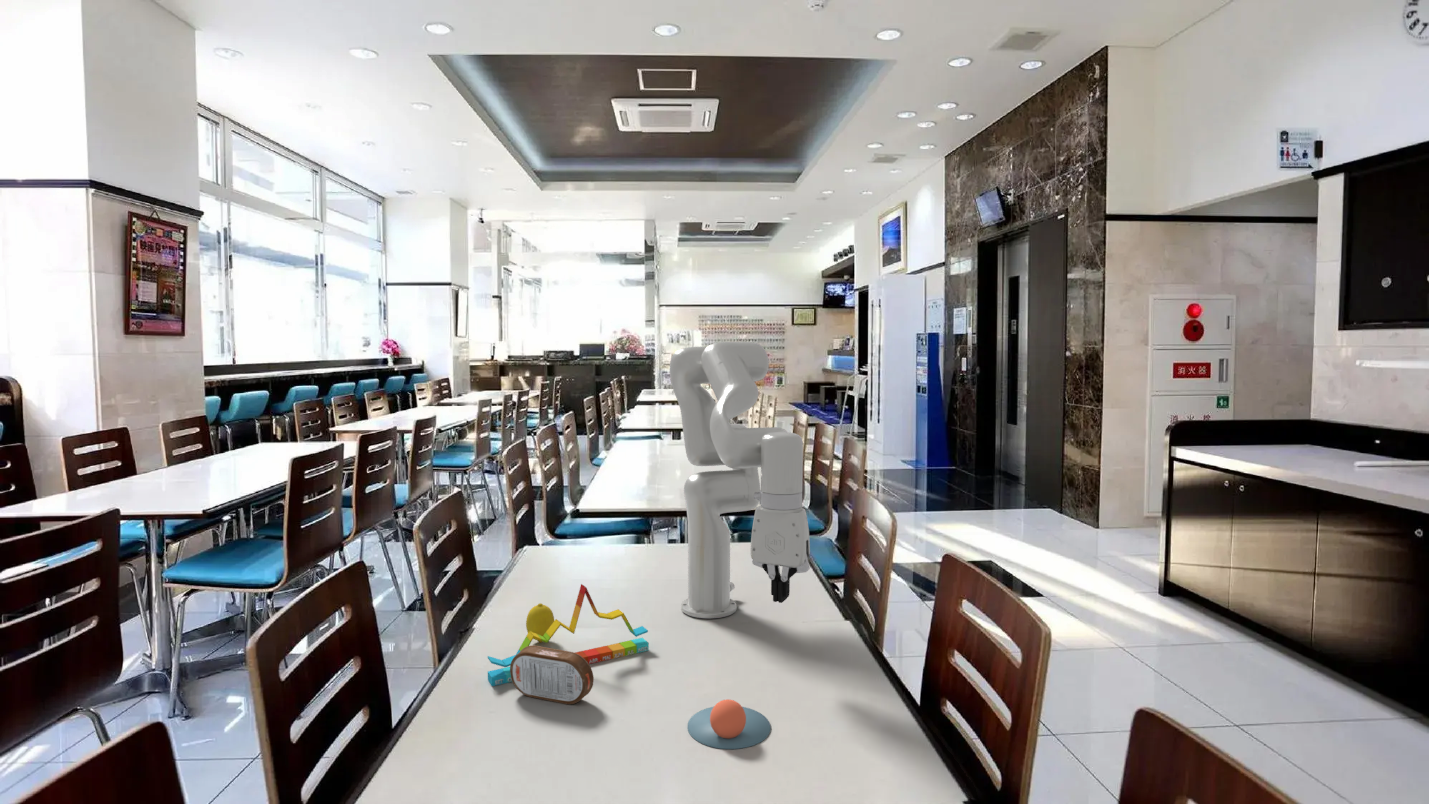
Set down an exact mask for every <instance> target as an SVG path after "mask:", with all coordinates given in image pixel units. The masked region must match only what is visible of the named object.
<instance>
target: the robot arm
mask: <svg viewBox="0 0 1429 804" xmlns="http://www.w3.org/2000/svg"><path fill="white" fill-rule="evenodd" d="M769 366H770V359H769V356H768V354H767V351H766V350H765V348H764V347H763V346H762V345H761V344H760V343H757V342H754V341H753V342H752V341H719V342H714V343H712V344H709V345H708V346H691V347H690V346H688V347H683V348H681V349H677V350H676V351H674V353H673V354H672V355H671V358H670V362H669V378H670V384H671V387H672V391H673V392H674V395H675V397H676V400H677V402H678V406H679V410H680V415H681V423H682V424H681V425H682V431H683V432H682V433H683V434H682V435H683V442H684V448H685V449H684V450H685V453H686V457H687V460H688V462H689V463H690V464H691V465H693V466H697V467H715V466H726V467H728V468H729V469H730V470H727V469H726V470H712V471H711V470H710V471H709V470H707V471H701V472H696V473H694V474H692V475H690V476H689V477H687V479H685V480H686V481H685V482H684V486H683V494H684V495H683V496H684V502H685V508H686V516H687V535H688V536H687V549H688V550H687V556H688V557H687V598H686V599H684V600H683V601H682V602H681V605H680V606H681V607H680V608H681V611H682V613H684V614H686V615H687V616H690V617H693V618H698V619H707V620H708V619H719V618H720V619H721V618H726V617H729V616H731V615H733V614H734V613H736V611H737V602H735V600H733V599H732V598H731V592H732V591H733V590H734V589H735V584H734V583H733V582H731V534H730V530H729V528H728V526H727V524H726V523H725V522H724V520H722V518H721V517H720V515H722V514H727V513H737V512H738V513H739V512H747V511H751V510H754V509H755V511H754V515H753V522H752V529H751V536H750V537H751V538H750V558H751V560H752V565H753V566H756V567H758V568H761V569H763V570H764V571H765V573H766V574H767V575H768V579H769V580H770V581H771V582H770V591H771V592H770V594H771V595H772V601H773V603H777V602H778V603H780V604H781V603H784V602H785V601H786V600H787V598H789V596H790V588H791V587H790V586H791V585H790V583H791V582H790V581H791V580H790V579H791V578H792V577H793V576H794V575H796V574H802V573H803V574H804V573H807V572H808V571H809V570H810V563H809V559H810V553H811V547H810V546H811V543H810V541H811V540H810V529H809V523H808V516H807V512H806V511H807V510H806V509H805V508H803V474H804V473H803V472H804V470H803V469H804V465H803V463H804V462H803V461H804V441H803V438H802V437H801V435H799V434H798V433H795V432H788V431H787V430H786V429H784V428H781V427H776V426H774V427H772V426H771V427H770V426H768V427H746V426H745V425H744V424H740V423H730V421H731V420H732V419H735V418H736V417H738V416H740V415H741V414H744V413H745V412H747V411H749V410H750V409H751V408H752V407H753V406H754V405H755V404H756V402H757V401H758V399H759V389H758V386H757V384H756V382H759V381H761V380H763V379H764V378H765V377H766V375H768V371H769V368H770V367H769ZM704 384H709V385H710V387H711V389H712V392H713V394H714V395H715V398H716V400H717V401H715V399H714V397H712V396H711V394H710V392H708V391H707V389H706V388H704V387H703V386H702V385H704ZM758 468H760V476H759V469H758ZM780 567H782V569H781V568H780ZM780 569H781V570H780Z"/></svg>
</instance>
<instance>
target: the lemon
mask: <svg viewBox="0 0 1429 804" xmlns="http://www.w3.org/2000/svg"><path fill="white" fill-rule="evenodd" d="M554 621H555V616H554V612H553V610H552V609H551V608H550V607H549V606H547V605H546V604H543V603H541V602H540V603H538V604H536V605H534V606H533V607H532V608H531V609H530V610H529V611H528V613H527V616H526V622H525V626H526V627H525V628H526V631H527V633H528V632H529V631H531V632H533V633H536V634H538V635H541V636H543V635H544V634H545V633H546V631H547V630H548V629H549V627H550V626H551V625H552V623H553V622H554ZM533 640H535V641H537V642H538V643H544V642H543V641H541V640H538V639H536V638H533Z"/></svg>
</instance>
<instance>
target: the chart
mask: <svg viewBox="0 0 1429 804" xmlns="http://www.w3.org/2000/svg"><path fill="white" fill-rule="evenodd" d="M585 596H586V599H587V601H588V603H589V605H590V607H591V610H592V612H593V614H594V615H596V616H597V617H598V618H600V619H605V620H610V621H611V620H614V619H615V620H616V619H618V618H620V617H621V619H622V620H623V621H624V624H625V625H626V626H627V627H626V628H627V629H628V631H629V633H631V634H632V635H633V636H634V637H636V638H633V639H630V640H627V641H625V640H624V641H620V642H617V643H612V644H609V645H603V646H599V647H593V648H589V649H585V650H580V651H575V652H574V653H577V654H579V655H580V656H582V657H583V658H584V659H585V660H586V661H587V662H588V664H589V665H592V664H595V663H601V662H605V661H609V660H613V659H617V658H622V657H627V656H631V655H635V654H640V653H644V652H648V651H649V650H650V649H649V648H650V647H649V642H648V641H647V640H646V639H644V638H643V637H639V636H642V635H645V634H647V633H648V632H649V630H648V629H647V628H646V627H644V626H643V625H641V626H638V627H636V628H634V629H633V627H632V626H631V624H630V622H629V620H628V617H627V616H626V615H625V613H624V612H623V611H622V610H620V609H618V608H617V609H615V610H612V611H610V612H607V613H605V612H599V611H598V610H597V608H596V606H595V603H594V601H593V599H592V597H591V595H590V592H589V590H588V588H587V587H586V586H585V585H583V584H582V583H581V584H580V587H579V589H578V594H577V599H576V601H575V606H574V609H573V613H572V617H571V620H570V623H569V626H567V625H566V624H564V623H563V622H561V620H558V619H557V618H556V619H555V618H554V622H553V623H552V625H551V626H550V627H549V629H548V630H547V631H546V633H545V634H544V635H543V636H541V635H538V634H536V633H533V632H531V631H529V632H527V635H526V636H525V638H524V640H523V641H522V643H521V645H520V646H519V649H518V650H517V651H516V654H514V655H511V656H508V657H505V658H503V659H500V658H496V657H493V656H489V655H487V659H488V661H489V662H490V664H493V665H496V666H499V667H502V668H498V669H497V668H496V669H494V670H493V669H492V670H488V671H487V682H489V684H490V686H491V687H495V686H500V685H503V684H508V683H509V684H510V683H513V682H512V679H511V674H510V665H511V661H512V660H513V658H514V657H515V656H516V655H517V654H518V653H519V652H520V651H521V650H522V649H523V648H525V647H527V646H531V643H532V642H533V640H534V639H533V638H536V639H538V640H541V641H543V642H542V643H547V644H548V643H549V641H550V640H551V639H552V638H553V636H554V634H555V633H556V632H557V631H558V629H559V628H560V627H562V628H564V629H565V630H567V631H568V632H570V633H572V634H575V632H576V628H577V624H578V621H579V617H580V613H581V611H582V606H583V603H584V599H585ZM637 637H639V638H637Z"/></svg>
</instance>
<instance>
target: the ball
mask: <svg viewBox="0 0 1429 804" xmlns="http://www.w3.org/2000/svg"><path fill="white" fill-rule="evenodd" d="M712 707H713V709H712V711H711V715H710V723H711V727H712V729H713V730H714V732H715V733H716V734H717V735H718V736H720V737H722V738H726V739H730V738H734V737H736V736H738V735H739V734H740V733H741V732H742V731H743V729H744V727H745V724H746V715H745V711H744V709H743V708H742V707H743V706H742V705H741V704H740V703H739V702H738V701H736V700H733V699H722V700H720V701H718V702H717V703H716V704H714V706H712Z"/></svg>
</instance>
